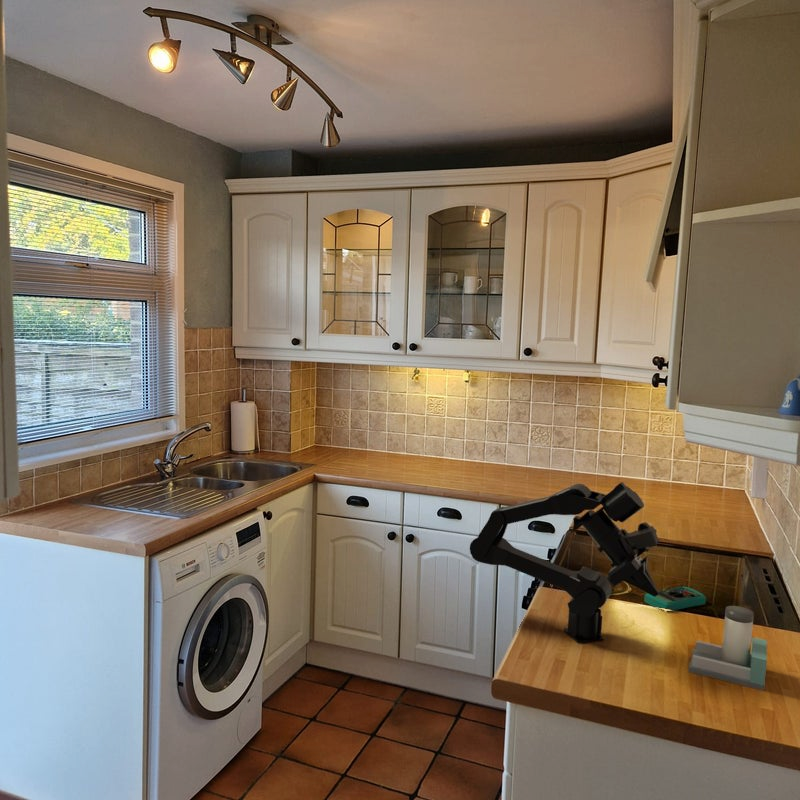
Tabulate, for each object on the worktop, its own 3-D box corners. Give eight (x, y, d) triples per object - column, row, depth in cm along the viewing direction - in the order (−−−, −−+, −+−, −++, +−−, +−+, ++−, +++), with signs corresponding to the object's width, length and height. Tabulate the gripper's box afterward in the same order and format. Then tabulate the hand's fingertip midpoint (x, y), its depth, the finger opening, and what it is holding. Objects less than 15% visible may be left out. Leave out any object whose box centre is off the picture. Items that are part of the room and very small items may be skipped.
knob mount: (688, 671, 134) (690, 642, 133) (693, 652, 143) (695, 624, 142) (764, 690, 128) (766, 660, 127) (764, 668, 136) (766, 640, 136)
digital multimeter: (707, 605, 170) (708, 594, 170) (665, 614, 163) (666, 602, 163) (683, 595, 176) (684, 584, 176) (642, 603, 170) (643, 592, 170)
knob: (720, 667, 133) (724, 612, 132) (721, 657, 138) (726, 603, 137) (748, 674, 131) (753, 618, 130) (749, 664, 135) (753, 609, 134)
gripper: (628, 522, 133) (683, 588, 129) (643, 504, 150) (692, 561, 146) (585, 554, 138) (638, 618, 134) (604, 532, 154) (651, 589, 150)
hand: (657, 595), depth 141 cm, fingers closed
